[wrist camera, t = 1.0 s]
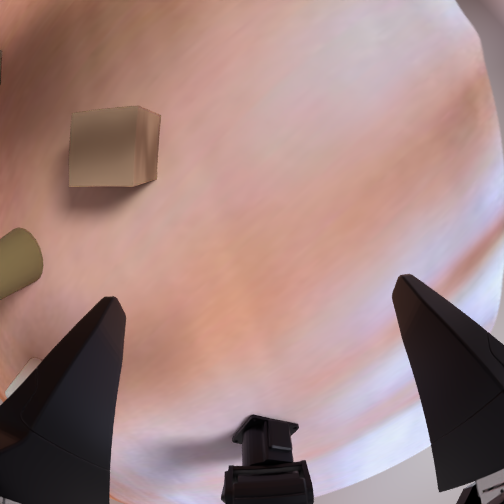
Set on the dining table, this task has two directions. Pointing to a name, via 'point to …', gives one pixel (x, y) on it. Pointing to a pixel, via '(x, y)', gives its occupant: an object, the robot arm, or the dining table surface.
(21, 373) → the off-white cylinder
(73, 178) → the walnut block
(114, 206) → the dining table surface
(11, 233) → the cork
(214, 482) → the dining table surface
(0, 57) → the bird statue
